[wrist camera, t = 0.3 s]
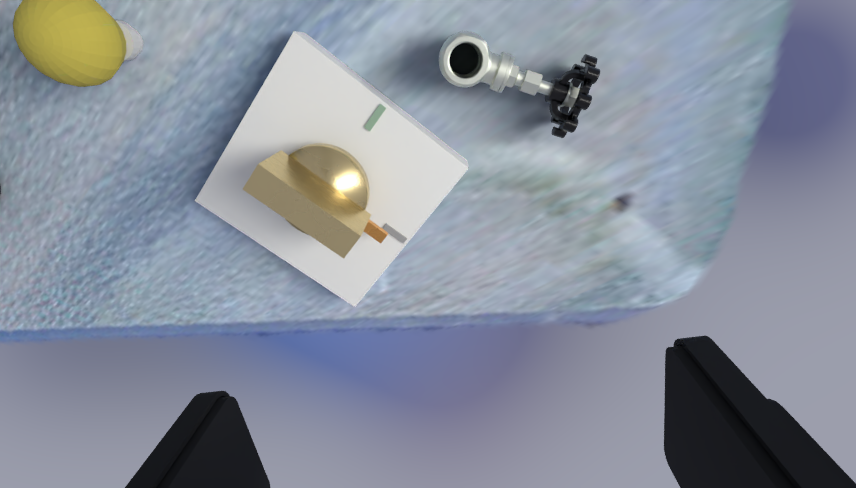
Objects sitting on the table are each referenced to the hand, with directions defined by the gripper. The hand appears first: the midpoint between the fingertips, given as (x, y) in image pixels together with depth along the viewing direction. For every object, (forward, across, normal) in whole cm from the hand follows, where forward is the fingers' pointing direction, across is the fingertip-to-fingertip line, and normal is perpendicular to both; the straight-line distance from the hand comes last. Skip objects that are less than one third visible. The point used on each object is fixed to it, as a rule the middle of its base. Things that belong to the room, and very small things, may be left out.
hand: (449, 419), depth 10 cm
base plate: (+35, +12, +1) cm, 37 cm away
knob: (+32, +11, +2) cm, 34 cm away
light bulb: (+35, +26, -13) cm, 46 cm away
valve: (+36, -6, -5) cm, 36 cm away
